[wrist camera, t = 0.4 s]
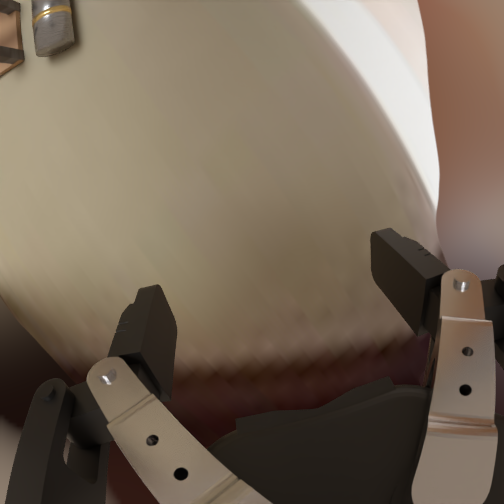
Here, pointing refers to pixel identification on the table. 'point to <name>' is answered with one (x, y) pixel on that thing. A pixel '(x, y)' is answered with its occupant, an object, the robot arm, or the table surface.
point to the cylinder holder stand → (10, 36)
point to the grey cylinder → (52, 26)
